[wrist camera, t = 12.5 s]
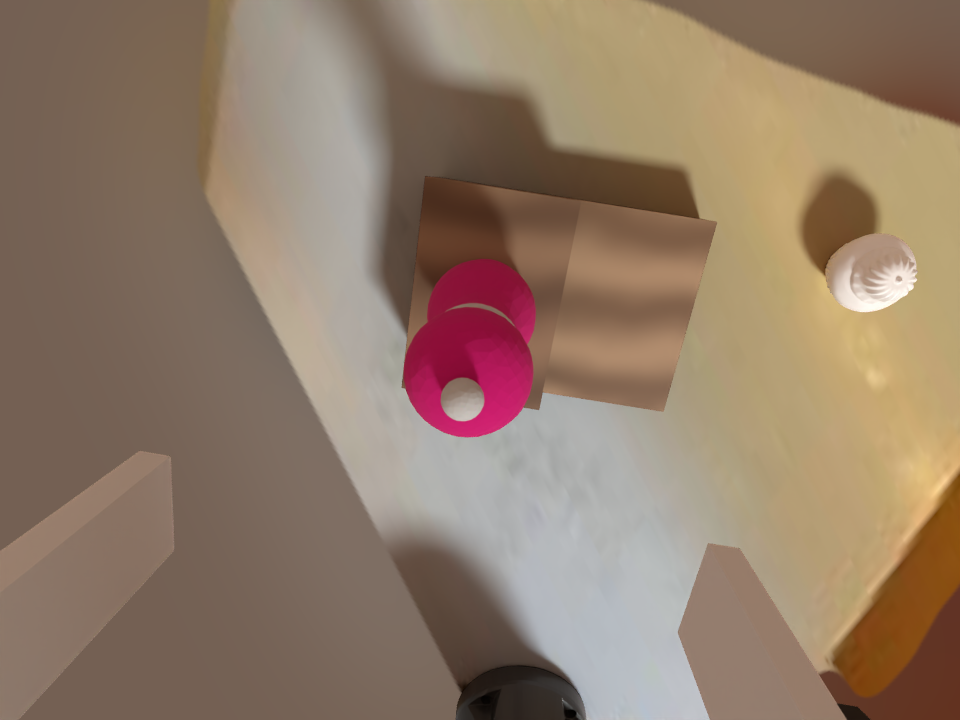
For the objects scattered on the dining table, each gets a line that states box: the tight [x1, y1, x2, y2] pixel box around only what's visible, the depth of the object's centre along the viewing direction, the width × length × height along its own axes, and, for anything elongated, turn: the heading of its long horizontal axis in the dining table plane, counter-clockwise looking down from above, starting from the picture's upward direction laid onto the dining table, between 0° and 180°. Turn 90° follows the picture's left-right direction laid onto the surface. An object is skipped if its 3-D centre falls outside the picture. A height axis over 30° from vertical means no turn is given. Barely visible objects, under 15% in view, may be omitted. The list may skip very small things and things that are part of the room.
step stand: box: [402, 176, 717, 412], centre depth 44 cm, size 16×22×8 cm
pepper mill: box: [404, 259, 536, 437], centre depth 31 cm, size 7×7×20 cm
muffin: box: [825, 233, 918, 312], centre depth 42 cm, size 6×6×7 cm
